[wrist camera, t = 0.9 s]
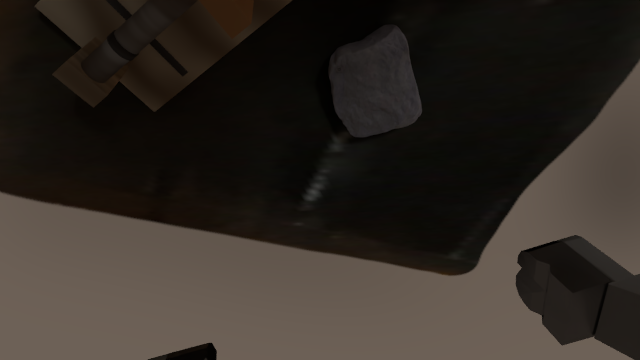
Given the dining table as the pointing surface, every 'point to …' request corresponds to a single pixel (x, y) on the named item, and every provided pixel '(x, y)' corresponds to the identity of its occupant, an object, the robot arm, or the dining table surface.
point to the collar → (231, 14)
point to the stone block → (374, 83)
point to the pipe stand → (143, 44)
